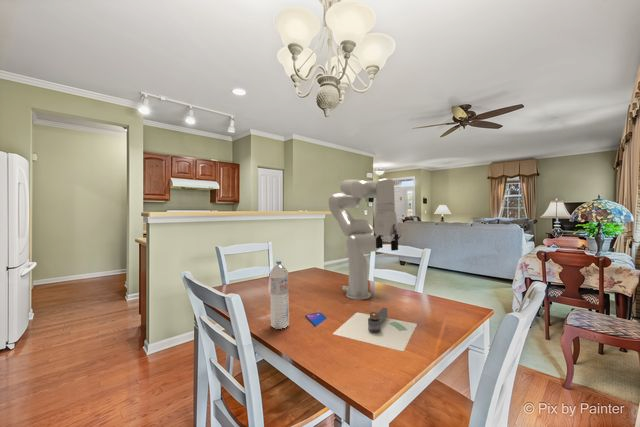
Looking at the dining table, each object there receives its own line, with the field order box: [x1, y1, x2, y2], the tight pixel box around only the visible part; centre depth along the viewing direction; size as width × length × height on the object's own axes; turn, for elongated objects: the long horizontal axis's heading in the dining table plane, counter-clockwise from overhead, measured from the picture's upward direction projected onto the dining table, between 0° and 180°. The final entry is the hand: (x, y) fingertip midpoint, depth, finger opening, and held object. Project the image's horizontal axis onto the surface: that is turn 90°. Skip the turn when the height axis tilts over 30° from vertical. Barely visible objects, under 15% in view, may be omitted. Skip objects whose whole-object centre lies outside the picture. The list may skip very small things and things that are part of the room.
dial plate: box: [332, 312, 418, 352], centre depth 96 cm, size 24×22×2 cm
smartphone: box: [304, 312, 327, 328], centre depth 107 cm, size 7×1×15 cm
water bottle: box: [269, 260, 290, 330], centre depth 103 cm, size 7×7×25 cm
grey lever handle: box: [368, 307, 388, 333], centre depth 99 cm, size 15×4×6 cm, turn 150°
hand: (386, 249), depth 113 cm, fingers open, 9 cm apart
